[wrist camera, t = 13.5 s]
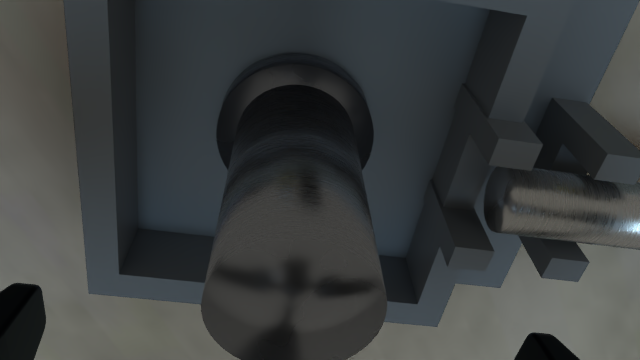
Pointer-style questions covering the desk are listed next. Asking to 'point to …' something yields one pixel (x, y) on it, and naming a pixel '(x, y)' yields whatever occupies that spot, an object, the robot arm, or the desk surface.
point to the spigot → (294, 216)
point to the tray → (387, 116)
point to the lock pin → (563, 207)
